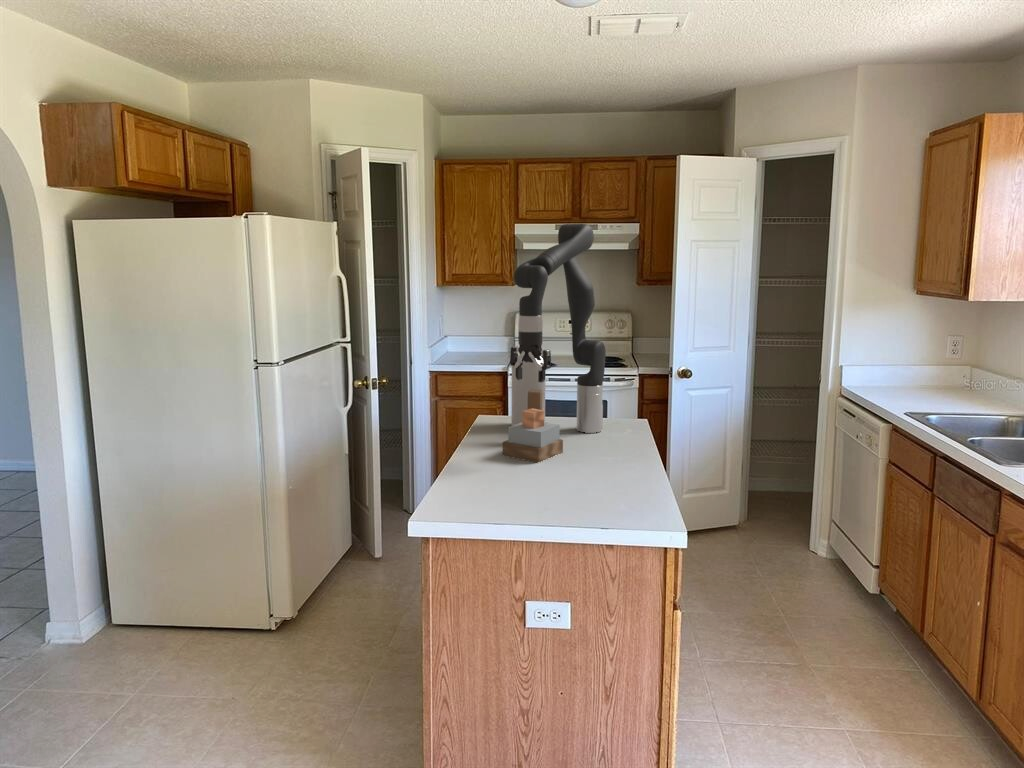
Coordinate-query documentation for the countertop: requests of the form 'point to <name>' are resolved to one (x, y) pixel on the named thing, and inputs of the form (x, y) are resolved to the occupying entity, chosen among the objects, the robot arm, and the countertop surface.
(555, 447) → the tower base block
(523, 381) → the cylinder vase
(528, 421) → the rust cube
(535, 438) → the tower top block
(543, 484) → the countertop surface
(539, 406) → the wooden block
